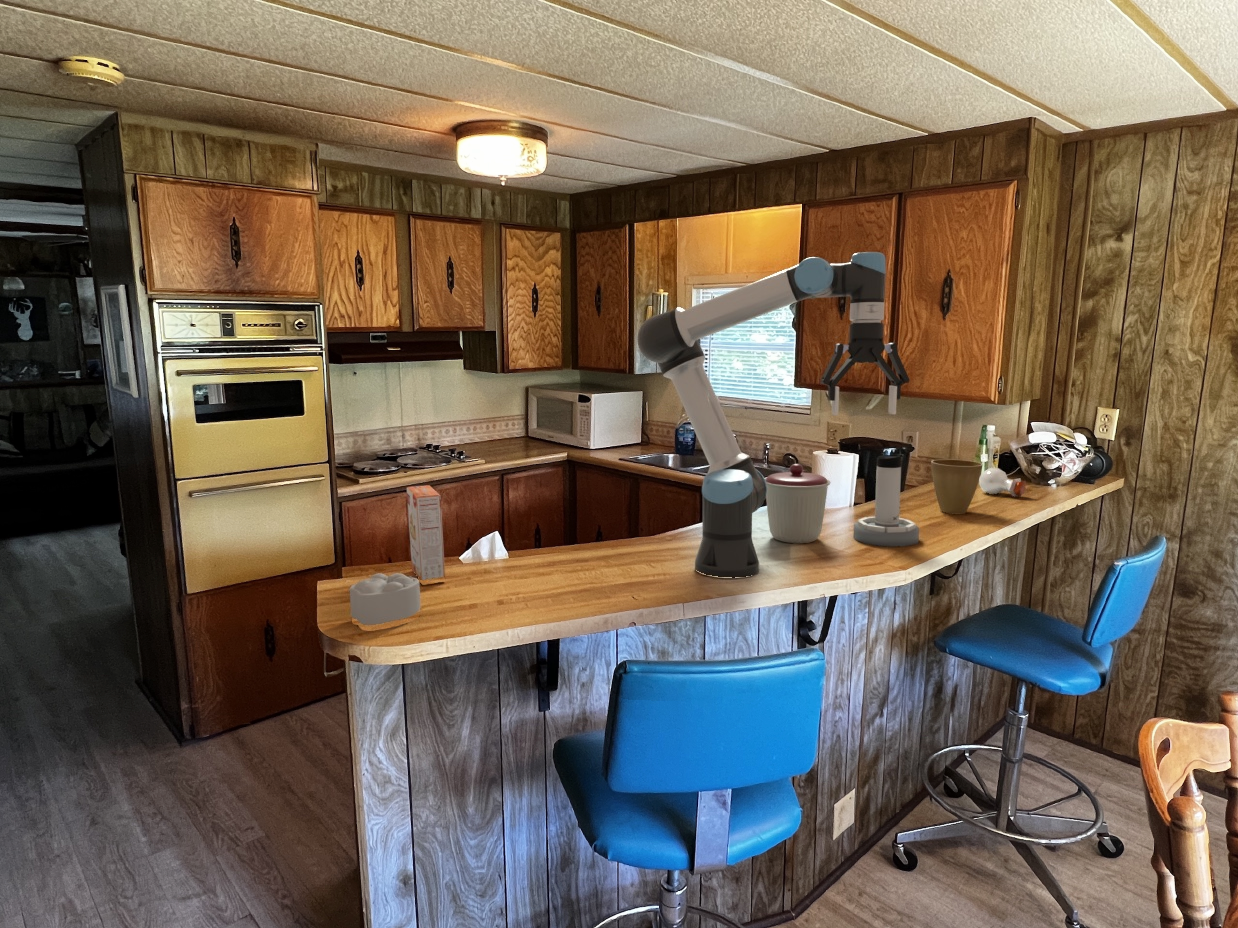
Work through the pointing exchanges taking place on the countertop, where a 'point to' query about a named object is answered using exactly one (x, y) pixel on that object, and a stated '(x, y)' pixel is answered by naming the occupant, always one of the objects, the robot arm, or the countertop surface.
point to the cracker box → (425, 532)
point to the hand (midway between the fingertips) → (863, 414)
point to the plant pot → (955, 483)
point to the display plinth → (886, 533)
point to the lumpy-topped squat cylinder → (384, 598)
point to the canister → (796, 505)
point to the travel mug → (888, 490)
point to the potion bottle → (1000, 482)
